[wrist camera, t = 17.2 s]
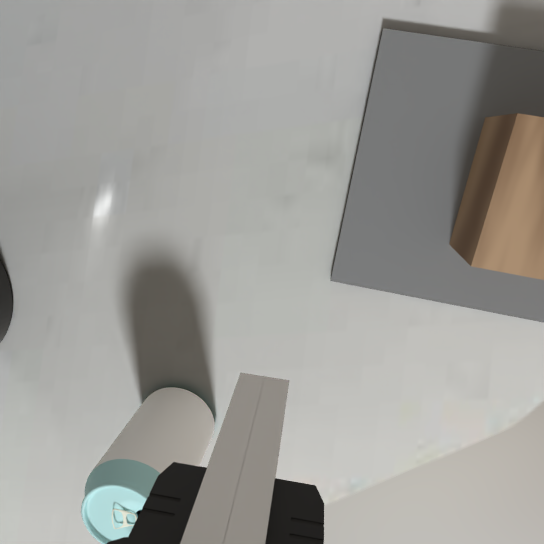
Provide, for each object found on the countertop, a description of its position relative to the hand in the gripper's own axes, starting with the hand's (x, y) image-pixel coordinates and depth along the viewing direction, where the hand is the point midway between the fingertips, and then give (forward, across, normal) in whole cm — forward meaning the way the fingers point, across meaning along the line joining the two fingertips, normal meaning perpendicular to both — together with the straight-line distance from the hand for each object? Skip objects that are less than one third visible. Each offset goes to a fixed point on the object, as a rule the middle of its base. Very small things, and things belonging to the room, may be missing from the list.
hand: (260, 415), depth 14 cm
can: (+23, -9, -18) cm, 31 cm away
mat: (+23, +14, +6) cm, 27 cm away
